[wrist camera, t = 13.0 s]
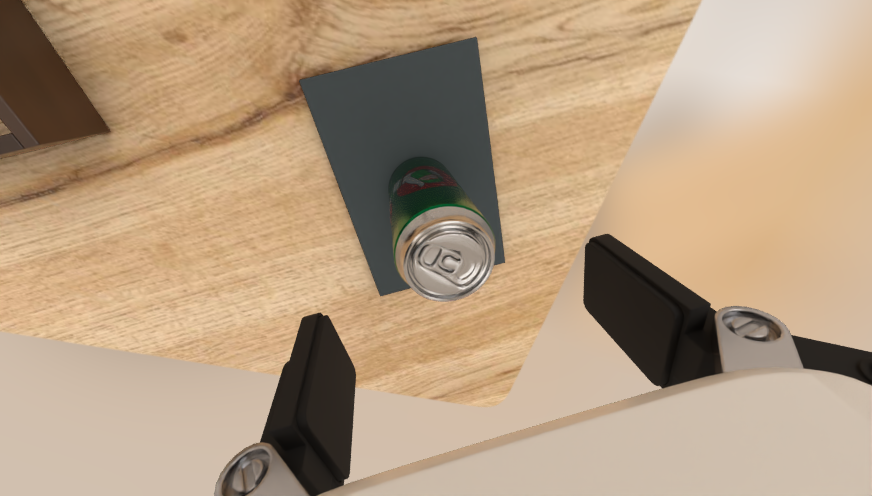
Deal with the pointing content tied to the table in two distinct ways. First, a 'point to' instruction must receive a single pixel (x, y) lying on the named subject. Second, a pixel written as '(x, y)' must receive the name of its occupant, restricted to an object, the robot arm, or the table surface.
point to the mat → (404, 137)
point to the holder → (38, 89)
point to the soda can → (437, 232)
